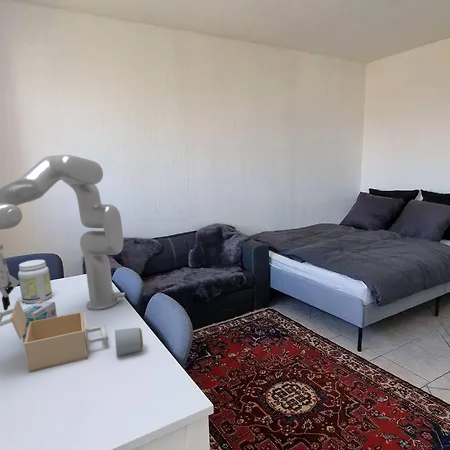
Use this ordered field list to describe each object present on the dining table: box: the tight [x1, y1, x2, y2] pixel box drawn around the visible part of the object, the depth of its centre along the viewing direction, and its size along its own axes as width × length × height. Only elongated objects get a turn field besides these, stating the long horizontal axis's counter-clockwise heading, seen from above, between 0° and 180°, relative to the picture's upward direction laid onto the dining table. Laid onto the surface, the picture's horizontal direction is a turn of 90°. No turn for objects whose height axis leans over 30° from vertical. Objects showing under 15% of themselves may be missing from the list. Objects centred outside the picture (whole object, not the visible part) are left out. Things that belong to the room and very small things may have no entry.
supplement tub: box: [17, 259, 53, 304], centre depth 161 cm, size 12×12×17 cm
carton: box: [23, 311, 109, 373], centre depth 115 cm, size 23×16×9 cm
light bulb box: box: [22, 300, 58, 343], centre depth 126 cm, size 11×7×11 cm, turn 168°
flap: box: [0, 300, 27, 340], centre depth 107 cm, size 7×14×6 cm
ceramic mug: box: [114, 327, 144, 357], centre depth 114 cm, size 11×8×8 cm
